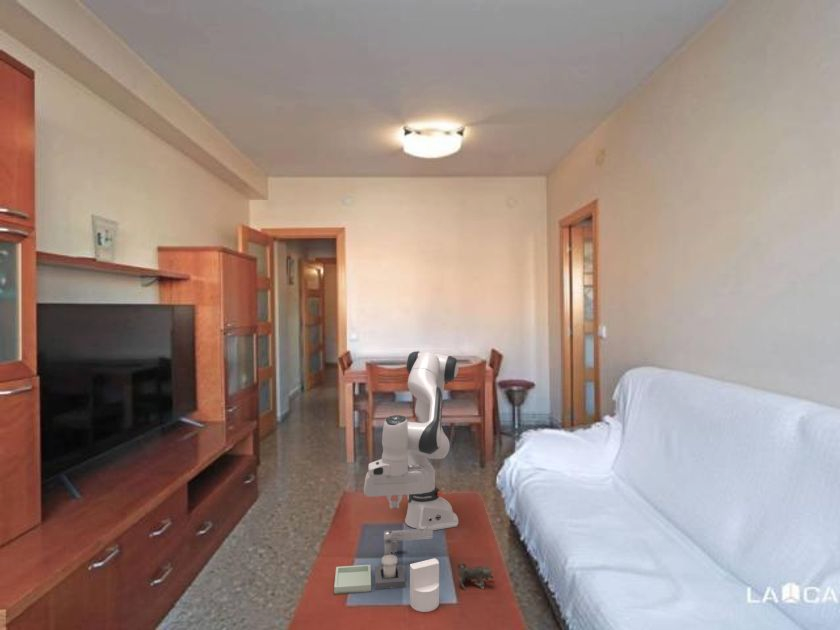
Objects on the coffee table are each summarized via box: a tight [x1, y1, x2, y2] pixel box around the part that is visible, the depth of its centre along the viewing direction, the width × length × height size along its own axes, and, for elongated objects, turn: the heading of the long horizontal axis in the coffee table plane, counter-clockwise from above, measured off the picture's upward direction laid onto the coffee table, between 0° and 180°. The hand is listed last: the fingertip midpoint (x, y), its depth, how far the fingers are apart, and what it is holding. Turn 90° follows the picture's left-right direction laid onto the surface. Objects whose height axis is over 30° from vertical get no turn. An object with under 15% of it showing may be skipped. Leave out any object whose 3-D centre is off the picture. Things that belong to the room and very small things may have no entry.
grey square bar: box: [383, 528, 434, 543], centre depth 164 cm, size 17×3×3 cm, turn 98°
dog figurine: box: [457, 562, 494, 591], centre depth 150 cm, size 12×6×7 cm, turn 89°
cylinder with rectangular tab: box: [409, 557, 440, 613], centre depth 141 cm, size 9×9×12 cm
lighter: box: [391, 541, 401, 553], centre depth 170 cm, size 7×2×8 cm, turn 83°
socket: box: [374, 542, 406, 590], centre depth 156 cm, size 10×17×8 cm, turn 7°
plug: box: [381, 554, 398, 579], centre depth 153 cm, size 5×5×7 cm
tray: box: [333, 564, 372, 595], centre depth 152 cm, size 12×12×2 cm
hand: (394, 507), depth 153 cm, fingers closed
